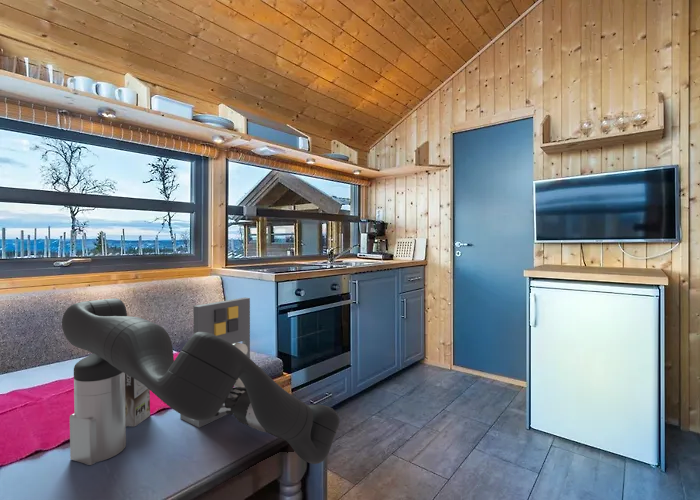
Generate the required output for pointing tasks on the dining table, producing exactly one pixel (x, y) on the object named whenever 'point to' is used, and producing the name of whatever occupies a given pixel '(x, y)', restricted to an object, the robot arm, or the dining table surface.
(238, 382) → the button bottom right
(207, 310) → the button panel
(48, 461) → the dining table surface
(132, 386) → the coffee box
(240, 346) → the button top right
